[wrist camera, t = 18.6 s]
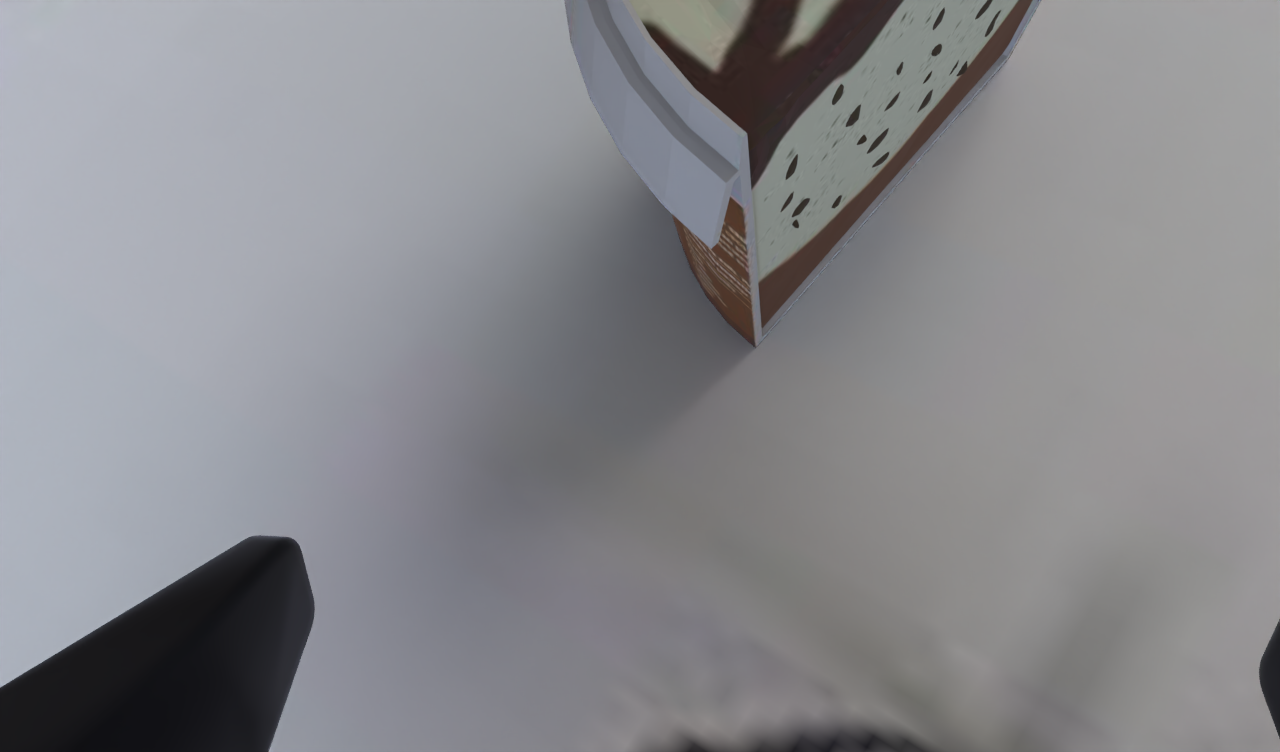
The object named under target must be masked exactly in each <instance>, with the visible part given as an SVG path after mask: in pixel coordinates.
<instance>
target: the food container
mask: <svg viewBox="0 0 1280 752" xmlns="http://www.w3.org/2000/svg"><path fill="white" fill-rule="evenodd" d="M1040 2H1041V0H565V6H566V13H567V20H568V26H569V33H570V40H571V44H572V47H573V50H574V53H575V56H576V58H577V61H578V64H579V67H580V70H581V73H582V76H583V79H584V82H585V84H586V87H587V90H588V93H589V96H590V99H591V101H592V103H593V104H594V106H595V108H596V110H597V111H598V113H599V115H600V117H601V119H602V120H603V122H604V124H605V126H606V128H607V129H608V131H609V133H610V135H611V136H612V138H613V140H614V142H615V144H616V145H617V147H618V149H619V151H620V153H621V154H622V155H623V157H624V158H625V159H626V160H627V162H628V163H629V164H630V165H631V167H632V168H633V169H634V170H635V171H636V173H637V174H638V175H639V176H640V178H641V179H642V180H643V181H644V183H645V184H646V185H647V186H648V188H649V189H650V190H651V191H652V192H653V194H654V195H655V196H656V197H657V199H658V200H659V201H660V202H661V204H662V205H663V206H664V207H665V208H666V209H667V210H668V211H669V212H671V213H672V216H673V219H674V222H675V226H676V229H677V232H678V235H679V239H680V242H681V244H682V247H683V250H684V252H685V255H686V257H687V260H688V263H689V265H690V268H691V270H692V272H693V274H694V275H695V277H696V279H697V281H698V282H699V284H700V286H701V288H702V289H703V291H704V293H705V295H706V296H707V298H708V299H709V300H710V301H711V303H712V304H713V305H714V306H715V308H716V309H717V310H718V311H719V313H720V314H721V315H722V316H723V318H724V319H725V320H726V321H727V323H728V324H730V325H731V326H732V327H733V328H734V329H735V330H736V331H737V332H738V333H740V334H741V335H742V336H743V337H744V338H745V339H746V340H747V341H748V342H750V343H751V344H752V345H753V346H754V347H755V348H756V347H757V346H758V345H759V344H760V342H761V341H762V340H763V339H764V338H765V337H766V336H767V334H768V333H769V332H770V331H771V330H772V329H773V327H774V326H775V325H776V324H777V323H778V322H779V321H780V319H781V318H782V317H783V316H784V315H785V314H786V313H787V311H788V310H789V309H790V308H791V307H792V306H793V305H794V303H795V302H796V301H797V300H798V299H799V298H800V297H801V295H802V294H803V293H804V292H805V291H806V290H807V289H808V287H809V286H810V285H811V284H812V283H813V282H814V281H815V279H816V278H817V277H818V276H819V275H820V274H821V272H822V271H823V270H824V269H825V268H826V267H827V266H828V264H829V263H830V262H831V261H832V260H833V259H834V258H835V256H836V255H837V254H838V253H839V252H840V251H841V250H842V248H843V247H844V246H845V245H846V244H847V243H848V242H849V240H850V239H851V238H852V237H853V236H854V235H855V234H856V232H857V231H858V230H859V229H860V228H861V227H862V225H863V224H864V223H865V222H866V221H867V220H868V219H869V217H870V216H871V215H872V214H873V213H874V212H875V211H876V209H877V208H878V207H879V206H880V205H881V204H882V203H883V201H884V200H885V199H886V198H887V197H888V196H889V195H890V193H891V192H892V191H893V190H894V189H895V188H896V187H897V185H898V184H899V183H900V182H901V181H902V180H903V179H904V177H905V176H906V175H907V174H908V173H909V172H910V170H911V169H912V168H913V167H914V166H915V165H916V164H917V162H918V161H919V160H920V159H921V158H922V157H923V156H924V154H925V153H926V152H927V151H928V150H929V149H930V148H931V146H932V145H933V144H934V143H935V142H936V141H937V140H938V138H939V137H940V136H941V135H942V134H943V133H944V132H945V130H946V129H947V128H948V127H949V126H950V125H951V124H952V122H953V121H954V120H955V119H956V118H957V117H958V115H959V114H960V113H961V112H962V111H963V110H964V109H965V107H966V106H967V105H968V104H969V103H970V102H971V101H972V99H973V98H974V97H975V96H976V95H977V94H978V93H979V91H980V90H981V89H982V88H983V87H984V86H985V85H986V83H987V82H988V81H989V80H990V79H991V78H992V77H993V75H994V74H995V73H996V72H997V71H998V70H999V69H1000V67H1001V66H1002V65H1003V64H1004V63H1005V62H1006V60H1007V59H1008V58H1009V57H1010V55H1011V54H1012V52H1013V50H1014V48H1015V46H1016V45H1017V43H1018V41H1019V39H1020V37H1021V36H1022V34H1023V32H1024V30H1025V29H1026V27H1027V25H1028V23H1029V21H1030V20H1031V18H1032V16H1033V14H1034V13H1035V11H1036V9H1037V7H1038V5H1039V4H1040Z"/></svg>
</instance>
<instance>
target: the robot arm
mask: <svg viewBox="0 0 1280 752" xmlns="http://www.w3.org/2000/svg"><path fill="white" fill-rule="evenodd" d="M314 610H315V608H314V598H313V594H312V590H311V586H310V582H309V579H308V575H307V571H306V567H305V563H304V559H303V555H302V551H301V549H300V546H299V544H298V543H297V542H296V541H295V540H294V539H292V538H289V537H279V536H261V535H259V536H252V537H249V538H247V539H245V540H243V541H241V542H240V543H238V544H237V545H235V546H233V547H232V548H230V549H228V550H227V551H225V552H223V553H222V554H220V555H218V556H217V557H215V558H213V559H212V560H210V561H208V562H207V563H205V564H204V565H202V566H200V567H199V568H197V569H195V570H194V571H192V572H190V573H189V574H187V575H185V576H184V577H182V578H180V579H179V580H177V581H175V582H174V583H172V584H171V585H169V586H167V587H166V588H164V589H162V590H161V591H159V592H157V593H156V594H154V595H152V596H151V597H149V598H147V599H146V600H144V601H142V602H141V603H139V604H138V605H136V606H134V607H133V608H131V609H129V610H128V611H126V612H124V613H123V614H121V615H119V616H118V617H116V618H114V619H113V620H111V621H110V622H108V623H106V624H105V625H103V626H101V627H100V628H98V629H96V630H95V631H93V632H91V633H90V634H88V635H86V636H85V637H83V638H81V639H80V640H78V641H77V642H75V643H73V644H72V645H70V646H68V647H67V648H65V649H63V650H62V651H60V652H58V653H57V654H55V655H53V656H52V657H50V658H48V659H47V660H45V661H44V662H42V663H40V664H39V665H37V666H35V667H34V668H32V669H30V670H29V671H27V672H25V673H24V674H22V675H20V676H19V677H17V678H15V679H14V680H12V681H10V682H9V683H7V684H6V685H4V686H2V687H1V688H0V752H268V751H269V749H270V746H271V743H272V740H273V737H274V734H275V731H276V728H277V725H278V723H279V720H280V717H281V714H282V711H283V708H284V705H285V702H286V700H287V697H288V694H289V691H290V688H291V685H292V682H293V679H294V676H295V674H296V671H297V668H298V665H299V662H300V659H301V656H302V653H303V651H304V648H305V645H306V642H307V639H308V636H309V633H310V630H311V627H312V624H313V619H314ZM1259 678H1260V684H1261V688H1262V692H1263V694H1264V697H1265V700H1266V703H1267V705H1268V708H1269V711H1270V713H1271V716H1272V719H1273V722H1274V724H1275V727H1276V730H1277V732H1278V735H1279V738H1280V620H1279V622H1278V624H1277V626H1276V628H1275V631H1274V633H1273V635H1272V637H1271V639H1270V641H1269V643H1268V646H1267V648H1266V650H1265V652H1264V654H1263V656H1262V659H1261V662H1260V669H1259Z"/></svg>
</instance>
